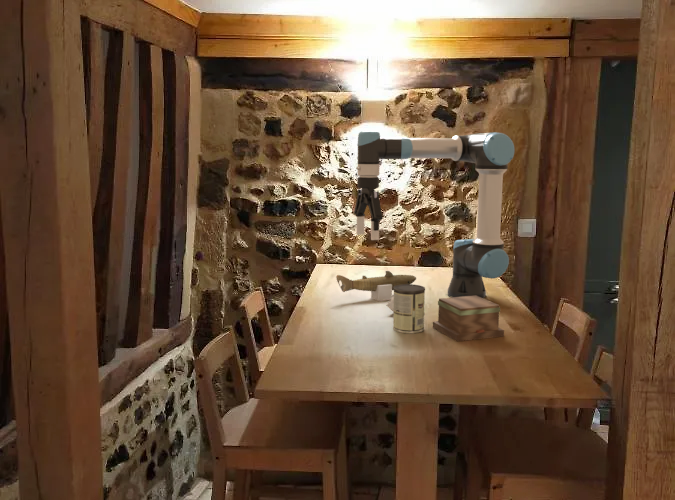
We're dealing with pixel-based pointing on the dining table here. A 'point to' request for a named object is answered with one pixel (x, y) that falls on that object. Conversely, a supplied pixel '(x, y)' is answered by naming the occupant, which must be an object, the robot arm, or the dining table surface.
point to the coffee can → (408, 308)
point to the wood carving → (376, 284)
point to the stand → (468, 318)
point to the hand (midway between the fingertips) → (367, 237)
